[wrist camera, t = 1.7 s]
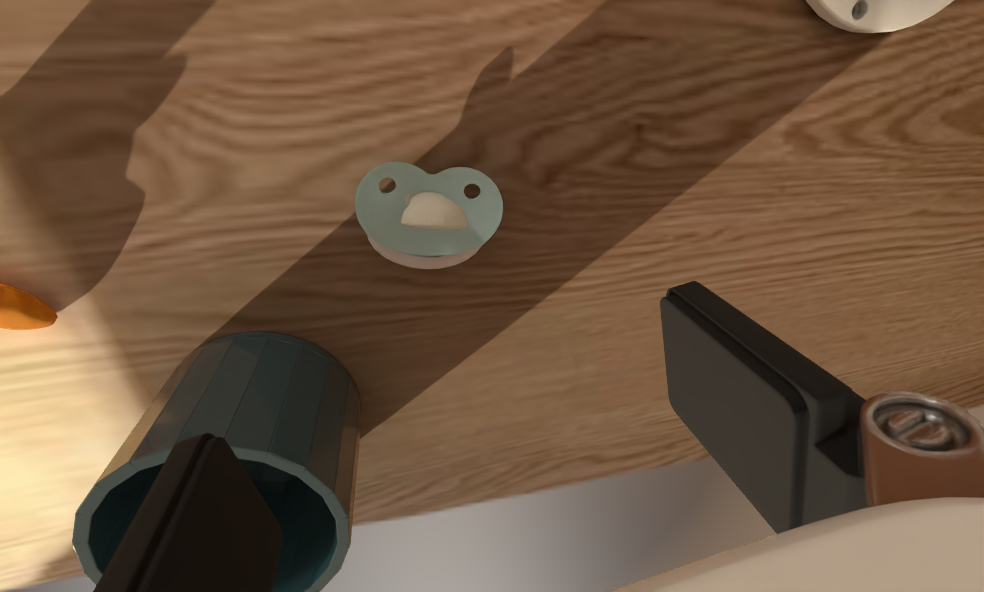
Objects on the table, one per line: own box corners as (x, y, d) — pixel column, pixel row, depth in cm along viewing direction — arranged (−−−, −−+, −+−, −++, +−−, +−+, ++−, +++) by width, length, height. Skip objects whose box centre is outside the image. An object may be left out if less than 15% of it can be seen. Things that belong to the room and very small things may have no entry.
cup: (320, 307, 29) (289, 411, 20) (385, 448, 34) (383, 579, 25) (125, 365, 28) (9, 498, 20) (221, 500, 33) (163, 652, 25)
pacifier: (486, 266, 29) (498, 163, 27) (507, 318, 24) (525, 196, 21) (358, 262, 28) (357, 152, 25) (349, 316, 22) (347, 184, 20)
